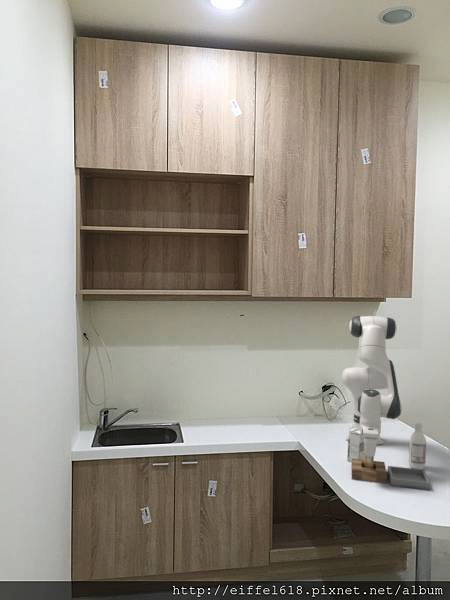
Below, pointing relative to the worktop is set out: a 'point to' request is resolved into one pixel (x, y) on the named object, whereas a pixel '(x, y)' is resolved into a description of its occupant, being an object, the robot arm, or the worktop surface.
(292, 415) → the worktop surface
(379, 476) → the holder
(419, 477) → the tray
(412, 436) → the bath foam
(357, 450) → the syrup box
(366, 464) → the dowel
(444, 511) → the worktop surface
